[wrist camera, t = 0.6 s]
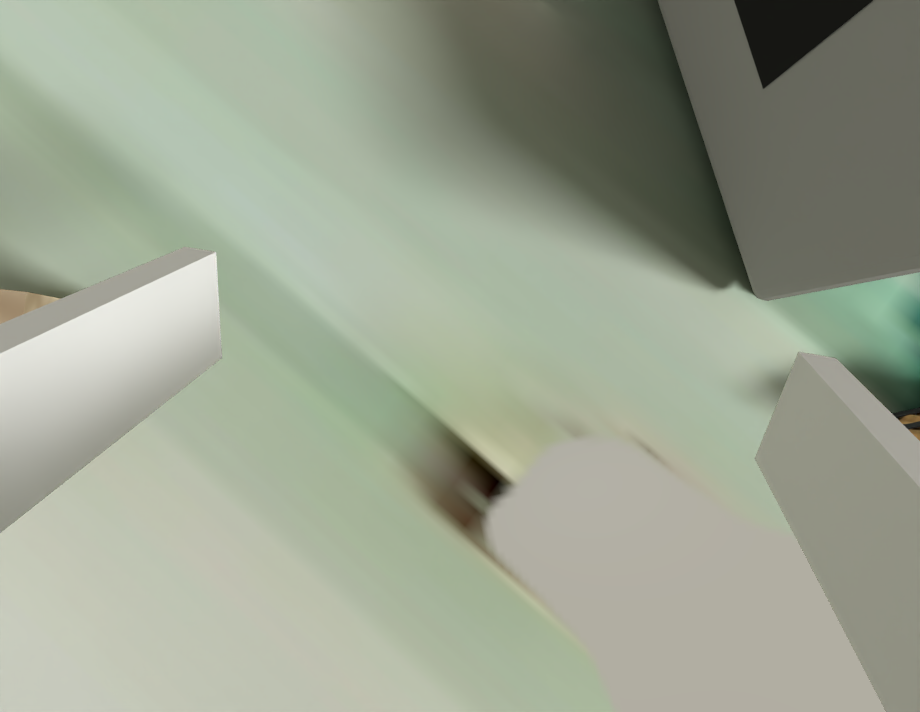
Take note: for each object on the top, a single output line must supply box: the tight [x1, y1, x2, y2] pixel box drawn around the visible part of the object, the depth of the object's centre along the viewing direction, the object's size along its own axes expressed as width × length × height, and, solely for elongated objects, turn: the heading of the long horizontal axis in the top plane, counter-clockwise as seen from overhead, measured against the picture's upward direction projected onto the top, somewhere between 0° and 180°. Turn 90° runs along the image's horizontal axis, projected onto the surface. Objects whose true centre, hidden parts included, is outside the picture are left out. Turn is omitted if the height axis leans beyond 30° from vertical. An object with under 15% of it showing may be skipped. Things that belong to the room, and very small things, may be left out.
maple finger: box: [0, 289, 61, 324], centre depth 39 cm, size 4×7×12 cm, turn 84°
